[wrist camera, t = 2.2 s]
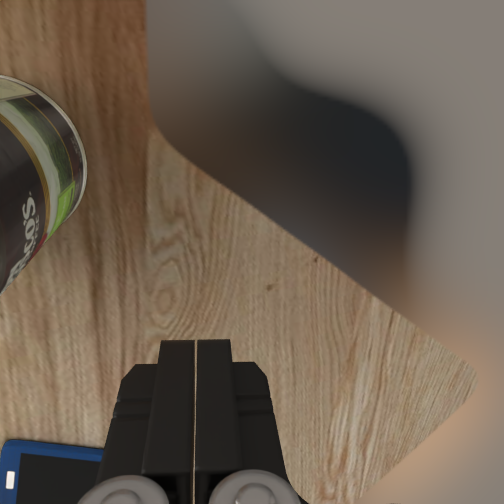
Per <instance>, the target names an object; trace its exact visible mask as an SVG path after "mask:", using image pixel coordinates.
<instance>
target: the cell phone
mask: <svg viewBox="0 0 504 504" xmlns="http://www.w3.org/2000/svg"><path fill="white" fill-rule="evenodd" d="M103 451H104V450H103V449H94V448H85V447H77V446H68V445H59V444H50V443H42V442H33V441H24V440H9V441H7V442H6V443H5V444H4V446H3V447H2V451H1V457H0V504H77V503H78V502H79V500H80V499H81V498H82V497H83V496H84V495H85V494H86V493H87V492H88V491H89V490H90V489H92V488H93V487H94V485H95V482H96V478H97V474H98V471H99V467H100V463H101V459H102V455H103Z"/></svg>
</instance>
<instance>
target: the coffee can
mask: <svg viewBox="0 0 504 504" xmlns="http://www.w3.org/2000/svg"><path fill="white" fill-rule="evenodd" d="M86 180H87V162H86V155H85V150H84V146H83V143H82V141H81V139H80V136H79V134H78V132H77V130H76V128H75V126H74V125H73V123H72V122H71V120H70V119H69V118H68V116H67V115H66V114H65V112H64V111H63V110H62V109H61V108H60V107H59V106H58V105H57V104H56V103H55V102H54V101H53V100H52V99H50V98H49V97H48V96H47V95H45V94H44V93H43V92H41V91H40V90H38V89H37V88H35V87H33V86H31V85H29V84H27V83H25V82H23V81H20V80H18V79H15V78H11V77H7V76H3V75H0V295H1V294H2V293H3V292H4V291H5V290H6V288H7V287H8V286H9V285H10V284H11V283H12V282H13V280H14V279H15V278H16V277H17V276H18V274H19V273H20V272H21V270H22V269H23V268H24V267H25V266H26V265H27V264H28V262H29V261H30V260H31V259H32V258H33V257H34V256H35V254H36V253H37V252H38V251H39V249H40V248H41V247H42V246H43V245H44V244H45V242H46V241H47V240H48V239H49V238H50V237H51V235H52V234H53V233H54V232H55V231H56V230H57V228H58V227H59V226H60V225H61V224H62V223H63V222H65V221H66V220H67V219H68V218H69V217H70V216H71V214H72V213H73V212H74V211H75V210H76V208H77V207H78V205H79V203H80V201H81V199H82V196H83V193H84V190H85V186H86Z"/></svg>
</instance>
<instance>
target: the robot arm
mask: <svg viewBox="0 0 504 504" xmlns="http://www.w3.org/2000/svg"><path fill="white" fill-rule="evenodd" d="M194 425H195V340H162V341H161V344H160V351H159V358H158V364H135V366H134V367H133V368H132V369H131V370H130V371H129V372H128V374H127V375H126V376H125V377H124V378H123V379H122V380H121V384H120V388H119V392H118V396H117V403H116V404H115V408H114V412H113V419H112V420H111V424H110V427H109V431H108V435H107V439H106V443H105V447H104V451H103V455H102V459H101V463H100V467H99V471H98V474H97V478H96V482H95V485H94V487H93V488H92V489H90V490H89V491H88V492H87V493H86V494H85V495H84V496H83V497H82V498H81V499H80V500H79V502H78V503H77V504H193V467H194ZM195 504H309V503H307V502H306V501H305V500H304V499H302V498H301V497H300V496H299V495H298V494H297V493H296V491H295V490H294V489H293V487H292V486H291V484H290V482H289V480H288V477H287V474H286V470H285V465H284V460H283V455H282V450H281V445H280V440H279V435H278V430H277V425H276V420H275V415H274V413H273V405H272V400H271V398H270V390H269V385H268V380H267V376H266V375H265V374H264V373H263V372H262V370H261V369H260V368H259V367H258V366H257V364H256V363H255V362H232V353H231V343H230V339H212V340H197V386H196V435H195Z"/></svg>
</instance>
